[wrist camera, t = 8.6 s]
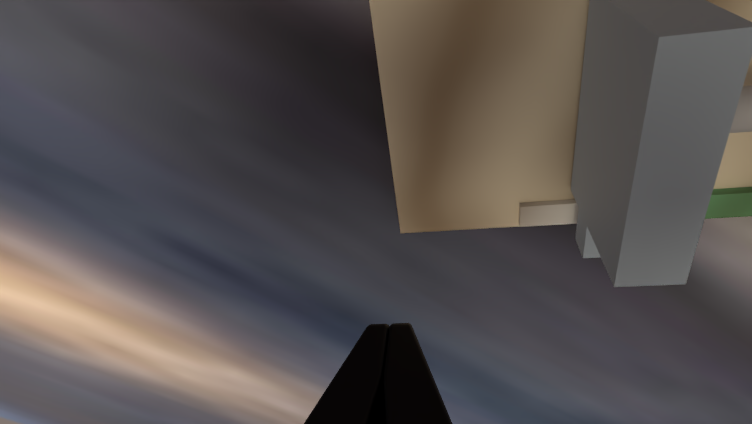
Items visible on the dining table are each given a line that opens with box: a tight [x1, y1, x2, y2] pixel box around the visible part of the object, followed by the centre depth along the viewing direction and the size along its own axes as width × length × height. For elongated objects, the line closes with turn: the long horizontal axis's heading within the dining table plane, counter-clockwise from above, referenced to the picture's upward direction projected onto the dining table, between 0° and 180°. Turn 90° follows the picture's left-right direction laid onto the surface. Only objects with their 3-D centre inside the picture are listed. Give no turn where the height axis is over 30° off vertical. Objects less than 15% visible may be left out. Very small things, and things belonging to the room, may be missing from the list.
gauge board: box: [369, 0, 752, 233], centre depth 15 cm, size 20×11×6 cm, turn 98°
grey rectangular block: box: [571, 0, 752, 287], centre depth 15 cm, size 8×9×6 cm
